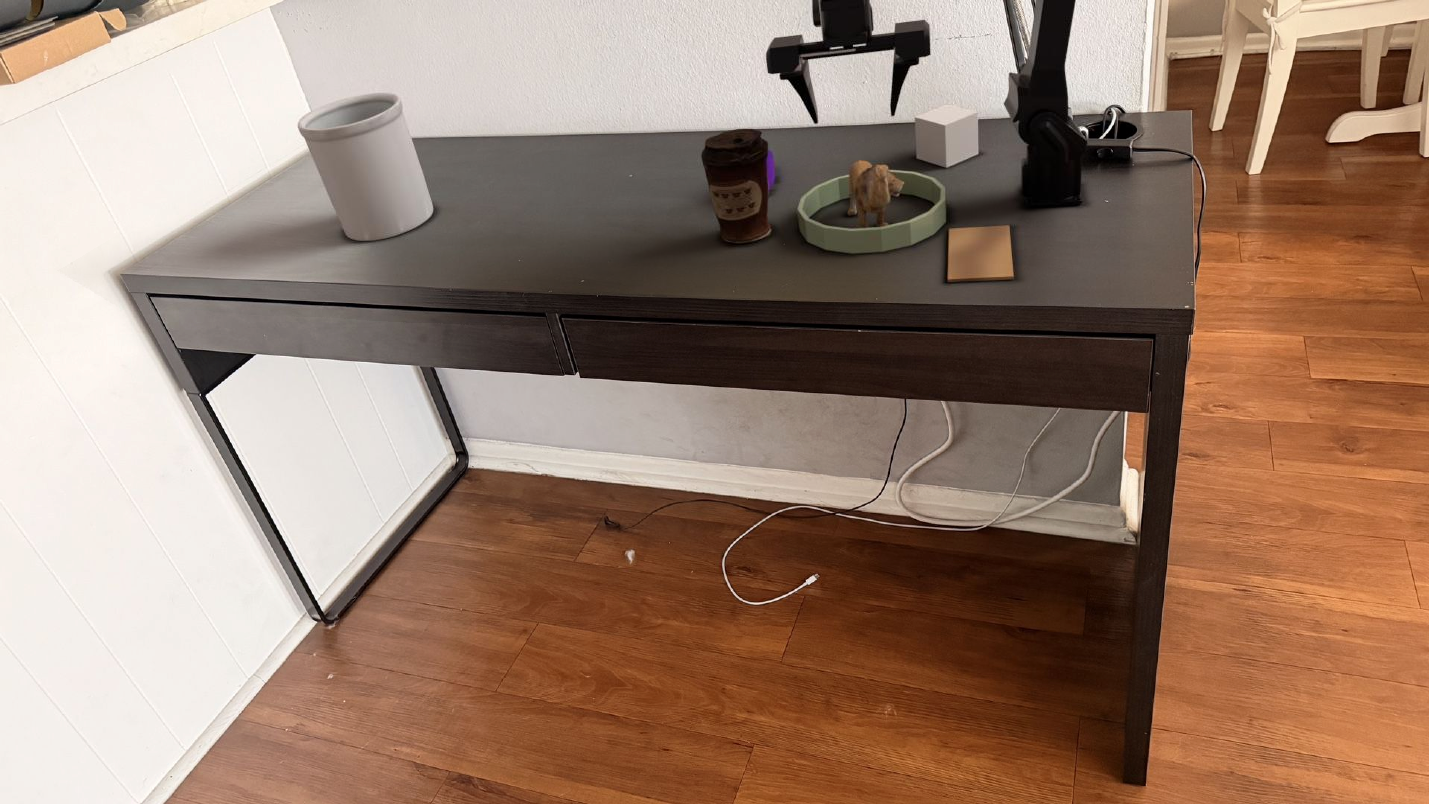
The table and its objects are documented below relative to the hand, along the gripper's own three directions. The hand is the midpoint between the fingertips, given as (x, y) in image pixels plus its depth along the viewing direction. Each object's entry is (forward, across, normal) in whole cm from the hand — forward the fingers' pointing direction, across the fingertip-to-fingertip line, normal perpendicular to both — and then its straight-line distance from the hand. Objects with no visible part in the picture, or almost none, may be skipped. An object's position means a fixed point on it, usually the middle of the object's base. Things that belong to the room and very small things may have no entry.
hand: (854, 118), depth 124 cm
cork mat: (+13, -14, +12) cm, 23 cm away
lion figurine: (+13, -1, +1) cm, 13 cm away
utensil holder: (+13, +72, -11) cm, 74 cm away
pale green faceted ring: (+13, -1, +1) cm, 13 cm away
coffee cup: (+13, +15, +2) cm, 20 cm away
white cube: (+13, -11, -19) cm, 25 cm away
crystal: (+13, +15, -14) cm, 25 cm away
